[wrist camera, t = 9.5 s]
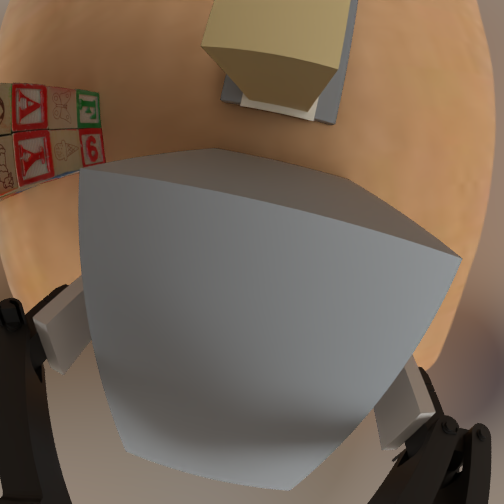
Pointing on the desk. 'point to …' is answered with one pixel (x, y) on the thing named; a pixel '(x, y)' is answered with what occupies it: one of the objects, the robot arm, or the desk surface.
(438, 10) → the desk surface
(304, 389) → the block
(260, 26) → the board
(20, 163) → the stack of blocks
